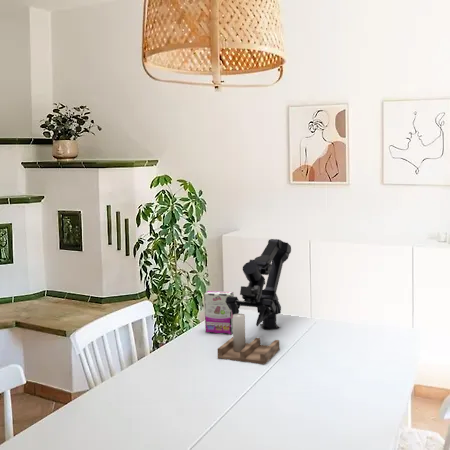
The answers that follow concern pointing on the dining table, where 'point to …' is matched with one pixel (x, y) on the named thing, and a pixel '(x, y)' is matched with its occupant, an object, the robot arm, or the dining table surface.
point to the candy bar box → (218, 312)
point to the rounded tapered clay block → (238, 332)
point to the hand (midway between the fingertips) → (245, 324)
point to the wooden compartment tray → (249, 351)
